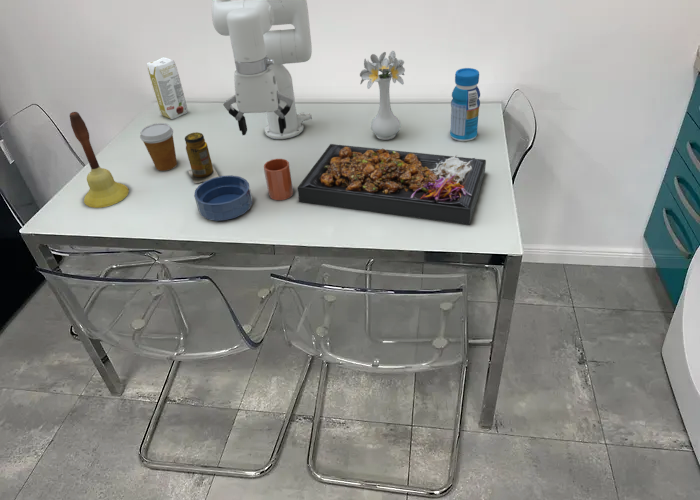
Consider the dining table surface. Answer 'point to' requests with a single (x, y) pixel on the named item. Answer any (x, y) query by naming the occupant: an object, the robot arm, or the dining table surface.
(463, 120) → the beverage bottle
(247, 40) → the robot arm
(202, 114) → the dining table surface
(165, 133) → the disposable coffee cup
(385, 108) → the flower vase
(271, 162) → the cup
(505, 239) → the dining table surface
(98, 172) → the handbell
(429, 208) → the food platter
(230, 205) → the bowl
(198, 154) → the condiment
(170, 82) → the juice carton
